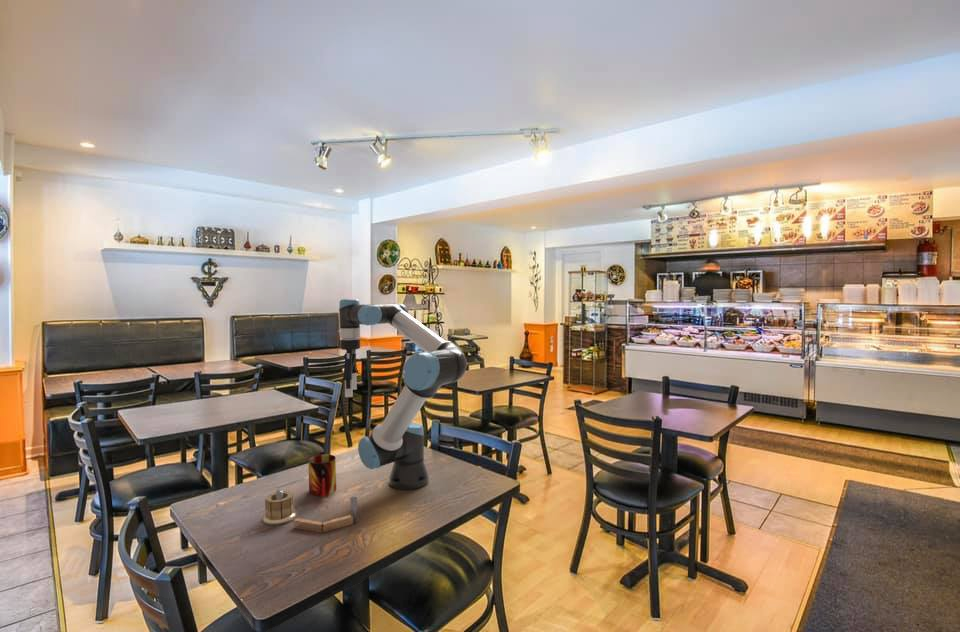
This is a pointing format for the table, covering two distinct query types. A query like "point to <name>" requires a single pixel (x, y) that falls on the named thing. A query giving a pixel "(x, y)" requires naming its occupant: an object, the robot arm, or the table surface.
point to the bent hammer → (329, 524)
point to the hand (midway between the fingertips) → (351, 393)
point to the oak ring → (279, 506)
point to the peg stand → (278, 522)
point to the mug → (322, 475)
